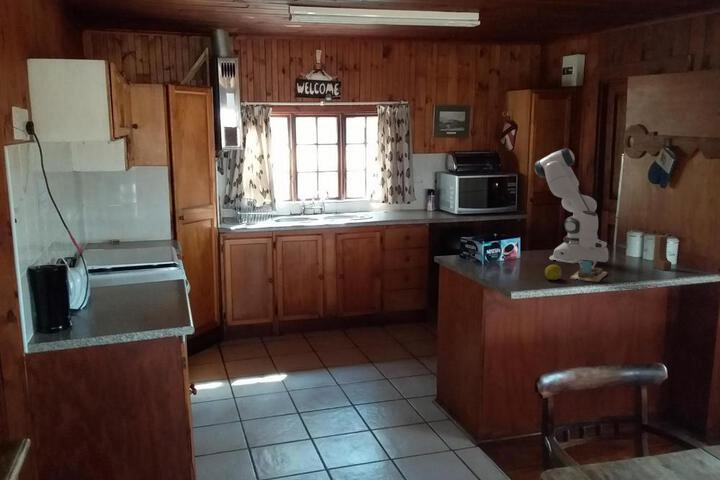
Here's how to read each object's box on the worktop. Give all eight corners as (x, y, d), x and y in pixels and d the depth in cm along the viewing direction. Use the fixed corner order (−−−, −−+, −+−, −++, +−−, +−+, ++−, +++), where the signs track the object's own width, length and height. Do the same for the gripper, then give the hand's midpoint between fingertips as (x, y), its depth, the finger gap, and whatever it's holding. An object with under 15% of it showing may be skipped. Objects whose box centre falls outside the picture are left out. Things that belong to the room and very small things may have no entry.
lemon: (551, 282, 320) (552, 267, 318) (540, 279, 326) (540, 264, 325) (566, 279, 325) (567, 264, 324) (555, 276, 332) (555, 262, 330)
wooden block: (671, 270, 340) (673, 237, 337) (664, 270, 339) (666, 238, 336) (660, 266, 349) (662, 234, 346) (653, 267, 348) (655, 235, 345)
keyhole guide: (570, 278, 327) (570, 273, 326) (580, 271, 343) (580, 265, 343) (598, 281, 319) (598, 276, 319) (607, 273, 336) (607, 268, 335)
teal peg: (581, 275, 327) (582, 260, 325) (583, 274, 330) (584, 259, 329) (589, 276, 325) (590, 261, 323) (591, 275, 328) (592, 260, 326)
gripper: (566, 241, 327) (565, 267, 330) (607, 245, 316) (605, 271, 319) (569, 239, 332) (568, 265, 335) (610, 243, 321) (608, 269, 324)
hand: (587, 268), depth 327 cm, fingers closed on teal peg, 4 cm apart
